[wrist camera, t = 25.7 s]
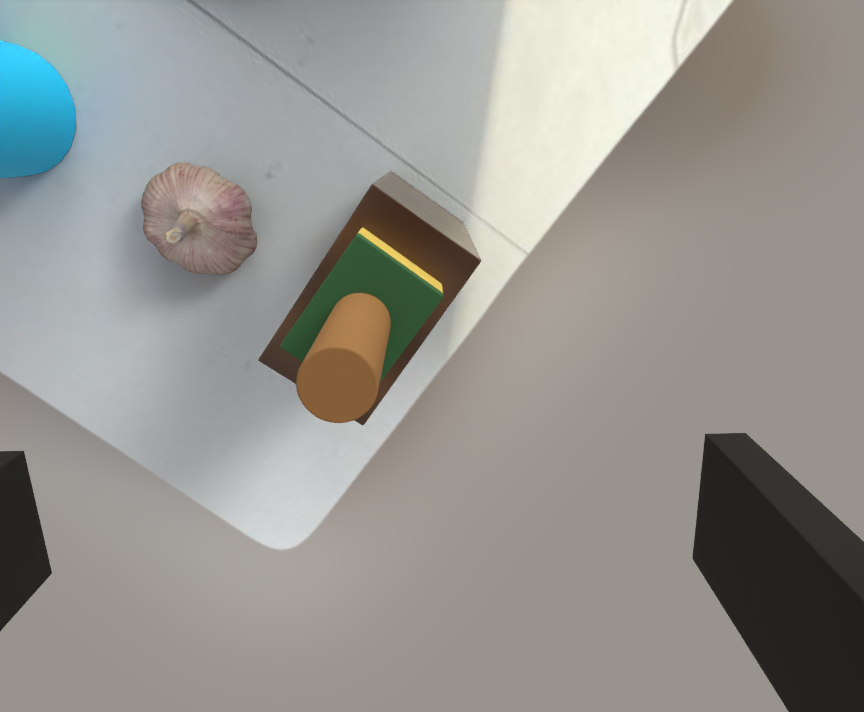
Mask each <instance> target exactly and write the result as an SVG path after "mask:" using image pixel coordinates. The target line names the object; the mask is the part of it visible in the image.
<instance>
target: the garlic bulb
mask: <svg viewBox="0 0 864 712" xmlns="http://www.w3.org/2000/svg"><path fill="white" fill-rule="evenodd" d="M142 209H143V214H144V223H143V231H144V234H145V236H146V237H147V239H148V240H149V241H151V242H152V243H153V244H154V245H155V246H156V247H157V249H158V251H159V252H160V254H161V255H162V256H163V257H165V258H166V259H167V260H170V261H172V262H176V263H178V264H179V265H181V266H182V267H183V268H185V269H186V270H188V271H190V272H193V273H199V274H202V273H214V274H219V275H224V274H229V273H231V272H233V271H234V270H236V269H237V268H238V267H239V266H240V265H241V264H242V262H243V261H244V260H245V259H246V258H247V257H249V256H250V255H251V254H252V253H253V252H254V251H255V249H256V247H257V235H256V233H255V231H254V230H253V228H252V225H251V211H252V207H251V203H250V199H249V197H248V196H247V194H246V193H245V191H244V190H243V189H242V188H241V187H240V186H238V185H236V184H234V183H232V182H229V181H227V180H225V179H223V178H222V177H221V176H220V175H219V174H218V173H217V172H215V171H213V170H212V169H210V168H207V167H199V166H194V165H193V164H190V163H184V162H180V163H176V164H173V165H171V166H170V167H168V168H167V169H166V170H165V171H163V172H162V173H160V174H158V175H156V176H154V177H153V178H151V180H150V181H149V182H148V184H147V186H146V189H145V191H144V193H143V196H142Z"/></svg>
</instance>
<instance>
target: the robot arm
mask: <svg viewBox="0 0 864 712" xmlns="http://www.w3.org/2000/svg"><path fill="white" fill-rule="evenodd" d="M693 560H694V562H695V563H696V565H697V566H698V568H699V569H700V571H701V573H702V574H703V576H704V577H705V579H706V581H707V582H708V584H709V585H710V587H711V589H712V590H713V591H714V593H715V595H716V597H717V598H718V600H719V601H720V603H721V605H722V606H723V608H724V609H725V611H726V612H727V614H728V616H729V617H730V619H731V620H732V622H733V624H734V625H735V627H736V628H737V630H738V632H739V633H740V634H741V636H742V638H743V639H744V641H745V643H746V644H747V646H748V647H749V649H750V651H751V652H752V654H753V655H754V657H755V658H756V660H757V662H758V663H759V665H760V667H761V668H762V670H763V671H764V673H765V675H766V676H767V678H768V679H769V681H770V683H771V684H772V686H773V687H774V689H775V690H776V692H777V694H778V695H779V697H780V698H781V700H782V702H783V703H784V705H785V706H786V708H787V710H788V711H789V712H864V542H863V541H862V540H861V539H860V538H859V537H858V536H857V535H856V534H855V533H853V532H852V531H851V530H850V529H849V528H848V527H847V526H846V525H845V524H844V523H843V522H841V521H840V520H839V519H838V518H837V517H836V516H835V515H834V514H833V513H832V512H831V511H830V510H828V509H827V508H826V507H825V506H824V505H823V504H822V503H821V502H820V501H819V500H818V499H816V498H815V497H814V496H813V495H812V494H811V493H810V492H809V491H808V490H807V489H806V488H805V487H804V486H802V485H801V484H800V483H799V482H798V481H797V480H796V479H795V478H793V476H792V475H791V474H789V473H788V472H787V471H786V470H785V469H784V468H783V467H782V466H781V465H780V464H779V463H777V462H776V461H775V460H774V459H773V458H772V457H771V456H770V455H769V454H768V453H767V452H766V451H764V450H763V449H762V448H761V447H760V446H759V445H758V444H757V443H756V442H754V440H753V439H751V438H750V437H749V436H748V435H747V434H746V433H730V434H705V442H704V452H703V462H702V472H701V481H700V491H699V501H698V510H697V521H696V530H695V540H694V549H693ZM51 573H52V571H51V567H50V564H49V559H48V554H47V550H46V546H45V541H44V537H43V532H42V528H41V524H40V519H39V515H38V511H37V506H36V502H35V498H34V493H33V489H32V485H31V481H30V476H29V472H28V468H27V463H26V459H25V454H24V451H2V452H0V631H1V630H2V629H3V627H4V626H5V625H6V624H7V623H8V622H9V621H10V620H11V618H12V617H13V616H14V615H15V614H16V613H17V612H18V611H19V610H20V608H21V607H22V606H23V605H24V604H25V603H26V602H27V601H28V599H29V598H30V597H31V596H32V595H33V594H34V593H35V592H36V590H37V589H38V588H39V587H40V586H41V585H42V584H43V583H44V581H45V580H46V579H47V578H48V577H49V576H50V575H51Z"/></svg>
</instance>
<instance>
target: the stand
mask: <svg viewBox="0 0 864 712" xmlns="http://www.w3.org/2000/svg"><path fill="white" fill-rule="evenodd" d="M361 228H365V229H366V230H367V231H369V232H370V233H372V234H373V235H374V236H376V237H377V238H379V239H380V240H381V241H383V242H384V243H386V244H387V245H388V246H390V247H391V248H393V249H394V250H395V251H397V252H398V253H400V254H401V255H402V256H404V257H405V258H406V259H408V260H409V261H411V262H412V263H413V264H415V265H416V266H418V267H419V268H420V269H422V270H423V271H425V272H426V273H427V274H429V275H430V276H432V277H433V278H434V279H436V280H437V281H439V282H440V283H441V284H442V288H443V296H444V297H443V299H442V300H441V301H440V303H439V304H438V305H437V307H436V308H435V310H434V311H433V312H432V314H431V315H430V316H429V318H428V319H427V320H426V322H425V323H424V324H423V326H422V327H421V328H420V330H419V331H418V332H417V334H416V335H415V336H414V338H413V339H412V340H411V342H410V343H409V344H408V346H407V347H406V348H405V350H404V351H403V352H402V354H401V355H400V356H399V358H398V359H397V360H396V362H395V363H394V364H393V366H392V367H391V368H390V370H389V371H388V373H387V374H386V375H385V377H384V378H383V379H382V381H381V382H380V384H379V389H378V394H377V397H376V400H375V402H374V404H373V405H372V407H371V408H370V409H369V410H368V412H366V413H365V414H364V415H363V416H361V417H360V418H358V419H356V420H355V421H356V422H358V423H360V424H361V425H364V424H365V422H366V421H367V420H368V418H369V417H370V415H371V414H372V413H373V411H374V410H375V409H376V407H377V406H378V404H379V403H380V402H381V400H382V399H383V397H384V396H385V395H386V393H387V392H388V390H389V389H390V388H391V386H392V385H393V383H394V382H395V381H396V379H397V378H398V376H399V375H400V374H401V372H402V371H403V369H404V368H405V367H406V365H407V364H408V362H409V361H410V360H411V358H412V357H413V355H414V354H415V353H416V351H417V350H418V349H419V347H420V346H421V344H422V343H423V342H424V340H425V339H426V337H427V336H428V335H429V333H430V332H431V330H432V329H433V328H434V326H435V325H436V323H437V322H438V321H439V319H440V318H441V316H442V315H443V314H444V312H445V311H446V309H447V308H448V307H449V305H450V304H451V302H452V301H453V300H454V298H455V297H456V295H457V294H458V293H459V291H460V290H461V289H462V287H463V286H464V284H465V283H466V282H467V280H468V279H469V277H470V276H471V275H472V273H473V272H474V270H475V269H476V268H477V266H478V265H479V263H480V262H481V259H480V257H479V255H478V253H477V250H476V248H475V246H474V244H473V242H472V240H471V238H470V236H469V234H468V231H467V229H466V227H465V225H464V223H463V222H462V221H461V220H460V219H458V218H457V217H455V216H454V215H452V214H451V213H450V212H448V211H447V210H445V209H444V208H443V207H441V206H440V205H438V204H437V203H436V202H434V201H433V200H431V199H430V198H429V197H427V196H426V195H424V194H423V193H421V192H420V191H419V190H417V189H416V188H414V187H413V186H412V185H410V184H409V183H407V182H406V181H405V180H403V179H402V178H400V177H399V176H397V175H396V174H395V173H393V172H392V171H390V172H389V173H387V174H386V175H384V176H383V177H382V178H380V179H379V180H377V181H376V182H375V183H373V184H372V185H371V187H370V188H369V190H368V191H367V193H366V194H365V196H364V197H363V199H362V200H361V202H360V204H359V205H358V207H357V208H356V210H355V211H354V213H353V214H352V216H351V217H350V219H349V221H348V222H347V224H346V225H345V227H344V228H343V230H342V231H341V233H340V234H339V236H338V238H337V239H336V241H335V242H334V244H333V245H332V247H331V248H330V250H329V251H328V253H327V255H326V256H325V258H324V259H323V261H322V262H321V264H320V265H319V267H318V268H317V270H316V272H315V273H314V275H313V276H312V278H311V279H310V281H309V282H308V284H307V286H306V287H305V289H304V290H303V292H302V293H301V295H300V296H299V298H298V299H297V301H296V303H295V304H294V306H293V307H292V309H291V310H290V312H289V313H288V315H287V316H286V318H285V320H284V321H283V323H282V324H281V326H280V327H279V329H278V330H277V332H276V333H275V335H274V337H273V338H272V340H271V341H270V343H269V344H268V346H267V347H266V349H265V350H264V352H263V354H262V355H261V357H260V358H259V361H260V362H262V363H263V364H265V365H267V366H268V367H270V368H271V369H273V370H275V371H276V372H278V373H279V374H281V375H283V376H284V377H286V378H287V379H289V380H291V381H292V382H294V383H295V384H296V379H297V374H298V370H299V368H300V366H301V364H302V361H300V360H299V359H297V358H296V357H294V356H293V355H291V354H290V353H288V352H287V351H285V350H284V349H282V348H281V347H280V345H281V343H282V342H283V340H284V339H285V337H286V336H287V334H288V333H289V332H290V330H291V329H292V327H293V326H294V324H295V323H296V321H297V320H298V318H299V317H300V316H301V314H302V313H303V311H304V310H305V308H306V307H307V305H308V304H309V302H310V301H311V300H312V298H313V297H314V295H315V294H316V292H317V291H318V289H319V288H320V286H321V285H322V284H323V282H324V281H325V279H326V278H327V276H328V275H329V273H330V272H331V270H332V269H333V268H334V266H335V265H336V263H337V262H338V260H339V259H340V257H341V256H342V254H343V253H344V252H345V250H346V249H347V247H348V246H349V244H350V243H351V241H352V240H353V238H354V237H355V236H356V234H357V233H358V232H359V230H360V229H361Z"/></svg>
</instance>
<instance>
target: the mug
mask: <svg viewBox="0 0 864 712" xmlns="http://www.w3.org/2000/svg"><path fill="white" fill-rule="evenodd" d="M75 130H76V118H75V106H74V103H73V101H72V98H71V95H70V92H69V89H68V87H67V85H66V84H65V82H64V81H63V79H62V78H61V77H60V75H59V74H58V72H57V71H56V70H55V68H54V67H53V66H51V65H50V64H49V63H48V62H47V61H45V60H44V59H43V58H42V57H41V56H39V55H38V54H37V53H35V52H32V51H30V50H28V49H25V48H23V47H21V46H19V45H16V44H12V43H8V42H4V41H0V178H8V177H21V176H30V175H34V174H38V173H42V172H46V171H48V170H49V169H51V168H52V167H53V166H55V165H56V164H58V163H59V162H61V160H62V159H63V158H64V156H65V155H66V153H67V152H68V150H69V149H70V147H71V145H72V141H73V138H74V134H75Z"/></svg>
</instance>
